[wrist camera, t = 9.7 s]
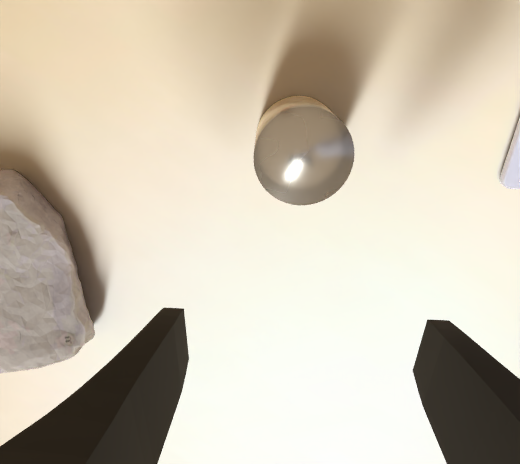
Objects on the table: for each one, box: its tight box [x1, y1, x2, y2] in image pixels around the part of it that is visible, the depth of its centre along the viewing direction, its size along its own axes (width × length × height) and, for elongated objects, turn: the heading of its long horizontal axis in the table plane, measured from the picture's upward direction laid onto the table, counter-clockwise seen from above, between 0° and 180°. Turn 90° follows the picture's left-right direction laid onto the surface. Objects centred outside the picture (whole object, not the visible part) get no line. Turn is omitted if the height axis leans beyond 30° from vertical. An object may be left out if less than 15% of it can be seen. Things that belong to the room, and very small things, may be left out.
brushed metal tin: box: [254, 96, 354, 205], centre depth 16 cm, size 4×4×4 cm
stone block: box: [0, 169, 95, 373], centre depth 21 cm, size 12×5×10 cm
